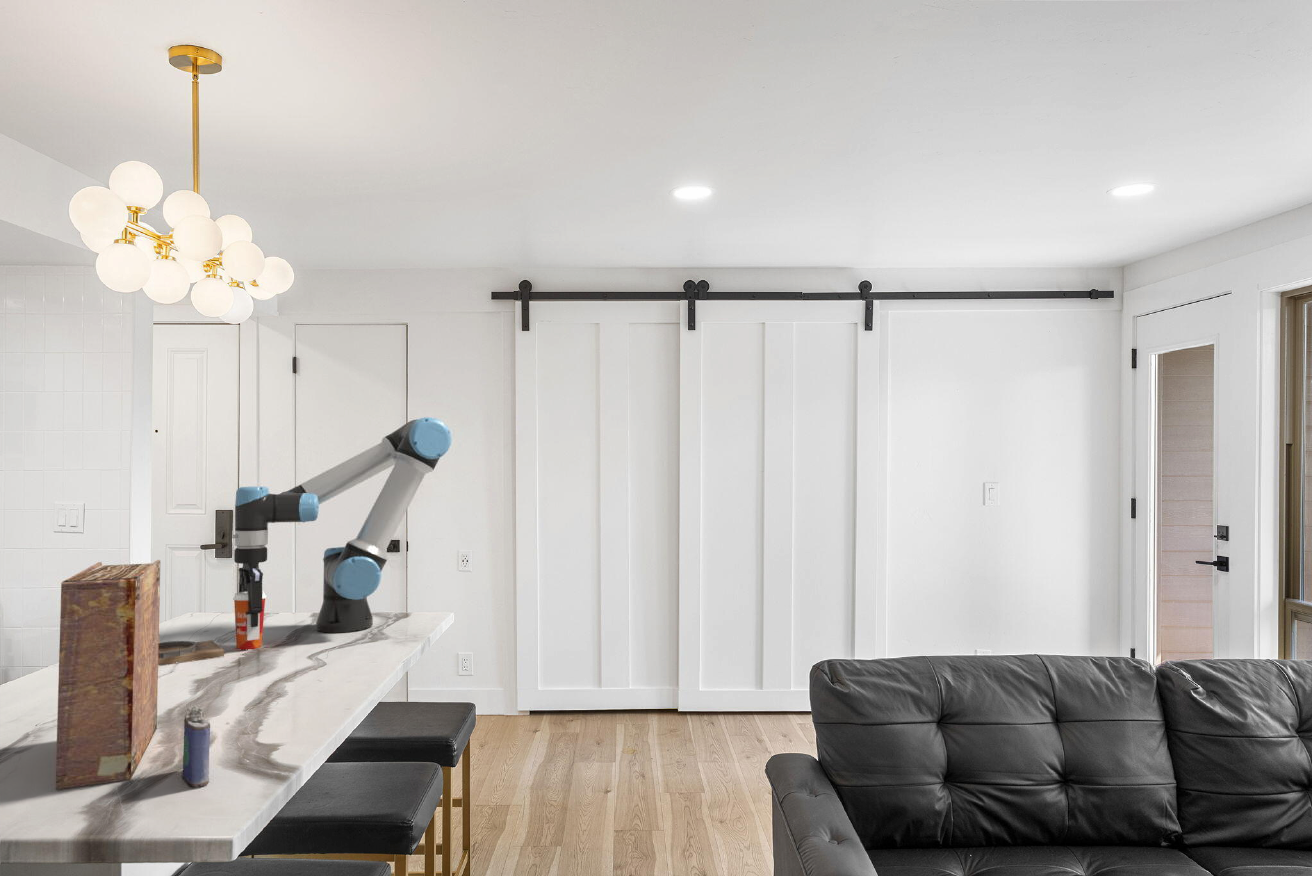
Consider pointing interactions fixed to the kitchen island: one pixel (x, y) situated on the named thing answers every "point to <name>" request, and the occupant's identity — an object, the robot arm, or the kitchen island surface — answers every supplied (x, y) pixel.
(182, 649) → the seat board
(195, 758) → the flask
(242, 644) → the paper cup
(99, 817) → the kitchen island surface
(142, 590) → the book
